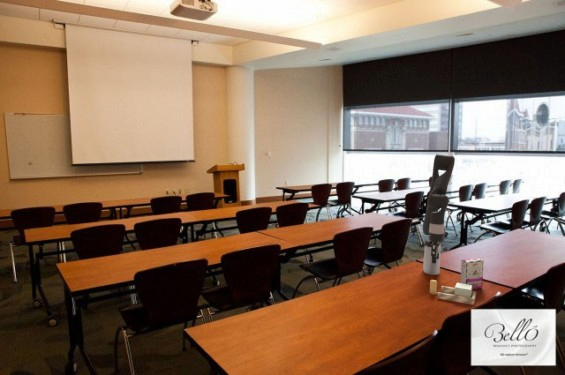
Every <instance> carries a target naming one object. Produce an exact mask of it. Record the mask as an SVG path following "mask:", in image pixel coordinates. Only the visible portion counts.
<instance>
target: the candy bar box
mask: <svg viewBox="0 0 565 375" xmlns="http://www.w3.org/2000/svg"><path fill="white" fill-rule="evenodd" d="M460 265H461V266H460V267H461V268H460V283H463V284H469V285H472V291H474V290H479V289H483V283H484V282H483V281H484V280H483V278H484V259H481V258H479V257H475V258H467V259H465V258H464V259H461V262H460Z"/></svg>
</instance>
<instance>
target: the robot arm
mask: <svg viewBox="0 0 565 375" xmlns="http://www.w3.org/2000/svg"><path fill="white" fill-rule="evenodd" d="M455 160H456V159H455V156H453V155H451V154H445V153H444V154H442V153H436V154H435V156H434V158H433V166H432V175H431V182H430V188H429V192H428V197H427V200H426V204H427V206H426V211H425V214H424V219H423V221H422V222H423V223H422V233H423V234H424V235H425V236H428V239H426V240H425V241H424V256H423V260H422V261H423V264H422V265H423V266H422V271H423V273H424V274H427V275H429V276H430V275H431V276H434V275H435V276H436V275H437V276H438V275H439V274H440V268H441V248H442V247H441V245H442V242H444V240H445V218H446V217H445V215H446V212H447V208H448V206H449V203H450V199H449V197H448V196H447V192H448V186H449V182H450V180H451V177H452V174H453V172H454V171H453V170H454V167H455V162H456V161H455ZM439 171H444V173H442V174H440V172H439Z"/></svg>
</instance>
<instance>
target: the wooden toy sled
mask: <svg viewBox="0 0 565 375" xmlns="http://www.w3.org/2000/svg"><path fill="white" fill-rule="evenodd" d="M440 289H441V290H440V292H439V291H438V292H437V293H438V294H437V299H440V300H445V301H450V302H456V303H461V304H465V305H466V304H467V305H471V306H472V305H473V306H475V302H476V298H477V291H476V290H472V297H471V298H469V297H463V296H458V295H455V287H451V286H446V285H441V288H440Z"/></svg>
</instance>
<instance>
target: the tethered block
mask: <svg viewBox="0 0 565 375" xmlns="http://www.w3.org/2000/svg"><path fill="white" fill-rule="evenodd" d="M437 287H438V281H437V280H435V279H431V280H430V281H429V294H430V295H438V292H437V289H438V288H437ZM454 288H455V294H454V295H458V296H463V297H469V298H472V291H473V290H472V285H469V284H463V283H461V282H456V284H455V286H454Z"/></svg>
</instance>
